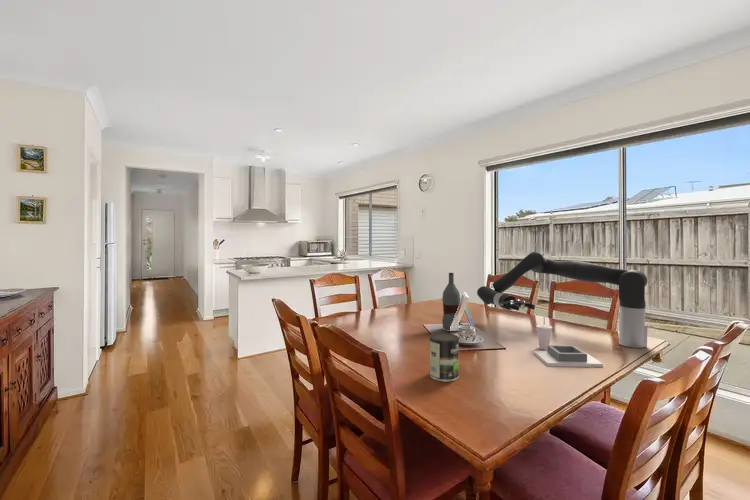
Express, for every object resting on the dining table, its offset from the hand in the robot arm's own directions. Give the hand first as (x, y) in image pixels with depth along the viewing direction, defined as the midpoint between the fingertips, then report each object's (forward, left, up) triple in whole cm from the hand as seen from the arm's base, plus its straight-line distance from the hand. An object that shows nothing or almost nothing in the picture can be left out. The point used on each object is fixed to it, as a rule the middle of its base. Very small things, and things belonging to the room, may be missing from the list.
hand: (526, 307), depth 163 cm
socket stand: (-7, +25, -16) cm, 30 cm away
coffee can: (+43, +43, -16) cm, 63 cm away
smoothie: (-4, +11, -16) cm, 19 cm away
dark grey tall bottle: (+32, -17, -16) cm, 40 cm away
